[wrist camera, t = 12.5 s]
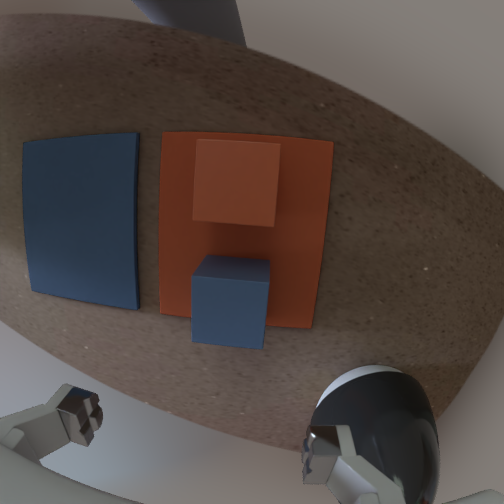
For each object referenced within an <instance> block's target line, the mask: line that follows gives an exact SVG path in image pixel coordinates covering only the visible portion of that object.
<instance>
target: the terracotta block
mask: <svg viewBox="0 0 504 504" xmlns="http://www.w3.org/2000/svg"><path fill="white" fill-rule="evenodd" d="M280 155H281V144H276V143H263V142H249V141H232V140H207V139H198V140H197V146H196V161H195V178H194V198H193V221H201V222H214V223H227V224H240V225H252V226H264V227H274V226H275V215H276V203H277V192H278V180H279V167H280Z"/></svg>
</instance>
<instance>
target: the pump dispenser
mask: <svg viewBox="0 0 504 504" xmlns="http://www.w3.org/2000/svg"><path fill="white" fill-rule="evenodd" d="M310 425H334V426H335V425H348V426H349V427H350V430H351V434H352V438H353V442H354V446H355V450H356V454H357V455H361V456H362V457H363V458H364V459H365V460H367V461H368V462H369V463H370V464H372V465H373V466H374V467H375V468H376V469H378V470H379V471H380V472H381V473H383V474H384V475H385V476H386V477H388V478H389V479H390V480H392V481H393V482H394V483H395V484H397V485H398V486H399V487H401V490H402V493H403V496H404V499H405V503H406V504H433V503H434V500H435V497H436V493H437V489H438V485H439V477H440V453H439V442H438V435H437V429H436V424H435V419H434V416H433V412H432V409H431V406H430V403H429V400H428V397H427V395H426V393H425V391H424V389H423V387H422V386H421V384H420V383H419V382H418V381H417V380H416V379H415V378H413V377H412V376H410V375H407V374H405V373H403V372H401V371H400V370H398V369H395V368H392V367H389V366H384V365H369V366H363V367H359V368H356V369H353V370H351V371H349V372H347V373H345V374H343V375H342V376H340V377H339V378H337V379H336V380H335V381H334V382H333V383H331V384H330V386H329V387H328V388H327V389H326V390H325V392H324V393H323V395H322V396H321V398H320V400H319V402H318V405H317V407H316V409H315V411H314V413H313V416H312V419H311V424H310ZM337 500H338V499H337ZM338 501H339V500H338ZM339 503H340V502H339ZM340 504H341V503H340Z"/></svg>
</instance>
